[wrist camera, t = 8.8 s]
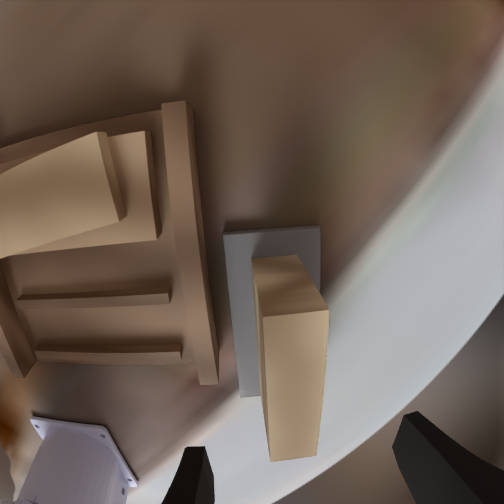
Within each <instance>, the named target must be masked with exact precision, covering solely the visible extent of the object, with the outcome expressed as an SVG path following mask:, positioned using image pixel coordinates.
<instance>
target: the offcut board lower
mask: <svg viewBox="0 0 504 504" xmlns="http://www.w3.org/2000/svg"><path fill="white" fill-rule="evenodd" d="M108 142H109V146H110V151H111V155H112V159H113V163H114V168H115V172H116V176H117V180H118V184H119V187H120V191H121V195H122V199H123V202H124V206H125V210H126V213H127V216H126V217H125V218H124V219H122V220H121V221H120V222H117V223H114V224H110V225H107V226H103V227H100V228H96V229H93V230H89V231H86V232H82V233H79V234H76V235H72V236H69V237H66V238H62V239H59V240H56V241H53V242H49V243H46V244H43V245H40V246H37V247H34V248H31V249H28V250H25V251H22V252H19V253H16V254H13V255H19V254H28V253H36V252H45V251H54V250H63V249H73V248H82V247H92V246H101V245H111V244H121V243H131V242H141V241H152V240H157V239H158V238H159V236H160V235H161V234H162V230H161V223H160V215H159V208H158V199H157V191H156V182H155V173H154V163H153V152H152V141H151V132H149V131H140V132H134V133H128V134H122V135H117V136H111V137H108ZM48 151H50V150H48ZM45 152H47V151H44V152H41V153H37V154H33V155H30V156H26V157H23V158H19V159H16V160H13V161H9V162H6V163H3V164H0V174H2V173H3V172H5V171H7V170H9V169H11V168H13V167H15V166H17V165H19V164H21V163H24V162H26V161H28V160H30V159H32V158H34V157H36V156H39V155H41V154H43V153H45ZM10 256H11V255H10Z"/></svg>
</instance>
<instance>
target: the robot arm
mask: <svg viewBox="0 0 504 504" xmlns="http://www.w3.org/2000/svg"><path fill="white" fill-rule="evenodd" d="M30 421H31V423H32V424H33V426H34V427H35V429H36V431H37V432H38V434H39V435H40V437H41V438H42V439H43V441H42V444H41V446H40V448H39V450H38V452H37V454H36V457H35V459H34V461H33V463H32V465H31V468H30V470H29V472H28V475H27V477H26V479H25V482H24V484H23V486H22V489H21V491H20V494H19V496H18V499H17V501H15V502H13V501H12V500H9V499H7V500H3V501H0V504H126V499H127V494H128V489H129V487H138V482H137V480H136V478H135V477H134V475H133V474H132V472H131V470H130V469H129V467H128V465H127V464H126V462H125V460H124V459H123V457H122V455H121V454H120V452H119V450H118V448H117V447H116V445H115V443H114V441H113V439H112V438H111V436H110V434H109V432H108V430H107V429H106V428H105V427H103V426H99V425H90V424H81V423H73V422H65V421H59V420H52V419H46V418H40V417H35V416H32V417H31V419H30ZM392 448H393V451H394V454H395V457H396V461H397V464H398V467H399V469H400V471H401V473H402V475H403V478H404V479H405V482H406V484H407V486H408V488H409V490H410V492H411V494H412V496H413V498H414V500H415V502H416V504H504V471H503V470H501V469H499V468H497V467H495V466H493V465H491V464H489V463H487V462H486V461H484V460H482V459H480V458H479V457H477V456H476V455H474V454H473V453H471V452H469V451H468V450H466V449H465V448H464V447H462V446H460V444H458V443H457V442H456V441H454V440H453V439H452V438H450V437H449V436H447V435H446V434H445V433H444V432H443V431H441V430H440V429H439V428H438V427H436V426H435V425H434V424H433V423H432V422H430V421H429V420H428V419H427V418H425V417H424V416H423V415H422V414H421V413H419V412H418V411H416V412H413V413H410V414H406V415H404V416H403V419H402V422H401V425H400V427H399V430H398V433H397V436H396V438H395V441H394V444H393V446H392ZM214 502H215V495H214V475H213V472H212V469H211V466H210V462H209V459H208V456H207V452H206V449H205V446H201V447H186V448H185V450H184V453H183V456H182V459H181V462H180V465H179V467H178V470H177V472H176V475H175V477H174V479H173V481H172V484H171V486H170V488H169V490H168V492H167V494H166V496H165V498H164V500H163V502H162V503H161V504H214Z"/></svg>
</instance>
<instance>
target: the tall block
mask: <svg viewBox="0 0 504 504" xmlns="http://www.w3.org/2000/svg"><path fill="white" fill-rule="evenodd" d="M251 265H252V280H253V294H254V308H255V323H256V337H257V351H258V366H259V380H260V392H261V399H262V406H263V413H264V420H265V427H266V434H267V441H268V448H269V455H270V462H274V461H283V460H290V459H297V458H304V457H310V456H316V454H317V446H318V438H319V430H320V422H321V413H322V403H323V393H324V382H325V371H326V358H327V344H328V328H329V308H328V306H327V305H326V303H325V301H324V300H323V298H322V296H321V294H320V293H319V291H318V289H317V288H316V286H315V284H314V283H313V281H312V279H311V277H310V276H309V274H308V272H307V271H306V269H305V267H304V266H303V264H302V262H301V261H300V259H299V257H298V256H297V255H288V256H277V257H265V258H253V259H251Z"/></svg>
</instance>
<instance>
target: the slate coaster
mask: <svg viewBox="0 0 504 504" xmlns="http://www.w3.org/2000/svg"><path fill="white" fill-rule="evenodd" d="M223 240H224V250H225V261H226V271H227V281H228V291H229V300H230V310H231V319H232V328H233V337H234V346H235V355H236V363H237V372H238V380H239V388H240V396H241V397H253V396H261V392H260V380H259V366H258V351H257V337H256V323H255V308H254V294H253V280H252V265H251V259H253V258H265V257H277V256H288V255H297V256H298V257H299V259H300V261H301V262H302V264H303V266H304V267H305V269H306V271H307V272H308V274H309V276H310V277H311V279H312V281H313V283H314V284H315V286H316V288H317V289H318V291H319V293H320V265H321V228H320V227H319V226H318V225H309V226H295V227H282V228H268V229H256V230H243V231H231V232H223Z"/></svg>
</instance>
